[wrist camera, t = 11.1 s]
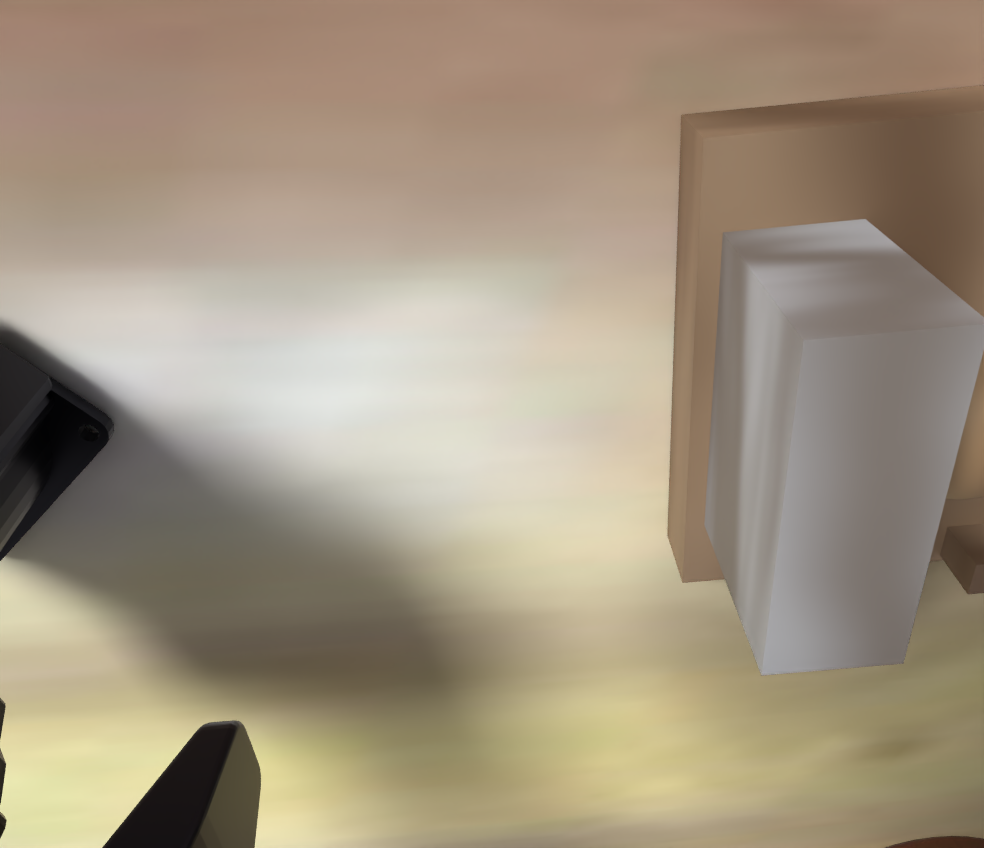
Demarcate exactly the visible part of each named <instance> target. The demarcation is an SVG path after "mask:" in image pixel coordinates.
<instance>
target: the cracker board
mask: <svg viewBox="0 0 984 848" xmlns="http://www.w3.org/2000/svg"><path fill="white" fill-rule="evenodd" d="M668 538H669V542H670V545H671V548H672V551H673V554H674V557H675V560H676V564H677V567H678V570H679V573H680V576H681V579H682V582H683V583H686V582H697V581H709V580H720V579H725V581H726V583H727V586H728V589H729V591H730V594H731V596H732V599H733V602H734V604H735V607H736V610H737V612H738V615H739V618H740V620H741V623H742V625H743V628H744V631H745V633H746V636H747V639H748V641H749V644H750V646H751V649H752V652H753V654H754V657H755V660H756V662H757V665H758V668H759V670H760V673H761V675H773V674H785V673H797V672H808V671H820V670H832V669H844V668H856V667H868V666H880V665H892V664H903V663H904V659H905V655H906V651H907V647H908V643H909V640H910V636H911V632H912V628H913V624H914V620H915V616H916V612H917V608H918V605H919V601H920V597H921V593H922V589H923V585H924V581H925V577H926V573H927V569H928V566H929V562H930V561H940V560H944V561H945V563H946V564H947V566H948V567H949V568H950V570H951V571H952V573H953V574H954V575H955V577H956V578H957V580H958V581H959V583H960V584H961V585H962V587H963V588H964V590H965V591H966V592H967V594H975V593H984V85H983V86H973V87H963V88H952V89H942V90H932V91H922V92H911V93H901V94H891V95H880V96H870V97H860V98H850V99H839V100H829V101H819V102H809V103H798V104H788V105H778V106H768V107H757V108H747V109H737V110H727V111H716V112H706V113H696V114H685V115H682V116H681V146H680V176H679V206H678V236H677V267H676V297H675V327H674V357H673V387H672V418H671V448H670V478H669V508H668Z"/></svg>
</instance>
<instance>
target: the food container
mask: <svg viewBox="0 0 984 848" xmlns="http://www.w3.org/2000/svg"><path fill="white" fill-rule="evenodd" d="M886 848H984V839H981V838H974V837H960V836H947V837H932V838H926V839H919V840H913V841H909V842H904V843H900V844H896V845H892V846H889V847H886Z"/></svg>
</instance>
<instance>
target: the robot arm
mask: <svg viewBox="0 0 984 848" xmlns="http://www.w3.org/2000/svg"><path fill="white" fill-rule="evenodd" d="M85 425H90V426H93V427H95V428H96V429H97V430H98V432H99V433H93V432H91V431H89V430H88V429H87V428H86V427H85ZM113 432H114V424H113V422H112V420H111V418H110V417H109V416H108V415H106V414H105V413H104V412H102V411H101V410H99V409H98V408H96V407H95V406H93V405H92V404H90V403H89V402H87V401H86V400H84V399H83V398H81V397H80V396H78V395H77V394H75V393H74V392H72V391H71V390H69V389H68V388H66V387H65V386H63V385H62V384H60V383H59V382H57V381H56V380H54V379H53V378H51V377H50V376H48V375H47V374H45V373H44V372H42V371H41V370H39V369H37V368H36V367H34V366H33V365H31V364H30V363H28V362H27V361H25V360H24V359H22V358H21V357H19V356H18V355H16V354H15V353H13V352H12V351H10V350H9V349H7V348H6V347H4V346H3V345H1V344H0V561H1V560H2V559H3V558H4V557H5V556H6V554H7V553H8V552H9V551H10V550H11V549H12V548H13V547H14V546H15V544H16V543H17V542H18V541H19V540H20V539H21V538H22V537H23V536H24V535H25V533H26V532H27V531H28V530H29V529H30V528H31V527H32V526H33V525H34V523H35V522H36V521H37V520H38V519H39V518H40V517H41V516H42V515H43V514H44V512H45V511H46V510H47V509H48V508H49V507H50V506H51V505H52V504H53V502H54V501H55V500H56V499H57V498H58V497H59V496H60V495H61V494H62V493H63V491H64V490H65V489H66V488H67V487H68V486H69V485H70V484H71V483H72V481H73V480H74V479H75V478H76V477H77V476H78V475H79V474H80V473H81V472H82V470H83V469H84V468H85V467H86V466H87V465H88V464H89V463H90V462H91V461H92V459H93V458H94V457H95V456H96V455H97V454H98V453H99V452H100V451H101V449H102V448H103V447H104V446H105V445H106V444H107V442H108V441H109V439H110V437H111V436H112V434H113ZM4 713H5V703H4V702H3V700H2V699H1V698H0V738H1V731H2V725H3V719H4ZM5 768H6V763H5V760H4V757H3V754H2V752H1V749H0V803H1V797H2V790H3V783H4V775H5ZM260 789H261V773H260V767H259V763H258V761H257V758H256V755H255V753H254V750H253V747H252V745H251V742H250V739H249V737H248V734H247V732H246V729H245V727H244V725H243V724H242V723H241V722H239V721H222V722H211V723H207V724H205V725H203V726H202V727H200V728H199V729H198V730H197V731H196V733H195V734H194V735H193V736H192V737H191V739H190V740H189V741H188V742H187V744H186V745H185V746H184V747H183V749H182V750H181V751H180V752H179V754H178V755H177V756H176V757H175V759H174V760H173V761H172V762H171V763H170V765H169V766H168V767H167V768H166V770H165V771H164V772H163V773H162V775H161V776H160V777H159V778H158V780H157V781H156V782H155V783H154V784H153V786H152V787H151V788H150V789H149V791H148V792H147V793H146V794H145V796H144V797H143V798H142V799H141V801H140V802H139V803H138V804H137V806H136V807H135V808H134V809H133V810H132V812H131V813H130V814H129V815H128V817H127V818H126V819H125V820H124V822H123V823H122V824H121V825H120V827H119V828H118V829H117V830H116V832H115V833H114V834H113V835H112V836H111V838H110V839H109V840H108V841H107V843H106V844H105V845H104V846H103V848H254V847H255V837H256V828H257V818H258V809H259V799H260ZM5 826H6V819H5V816H4V815H3V814H2V813H1V812H0V838H1V836H2V834H3V831H4V829H5Z"/></svg>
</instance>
